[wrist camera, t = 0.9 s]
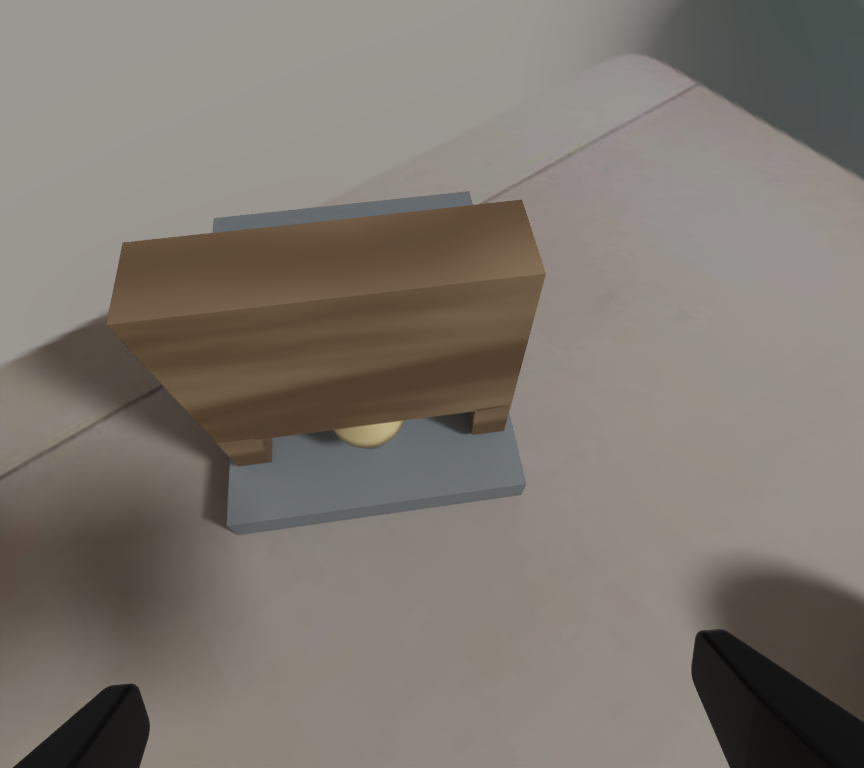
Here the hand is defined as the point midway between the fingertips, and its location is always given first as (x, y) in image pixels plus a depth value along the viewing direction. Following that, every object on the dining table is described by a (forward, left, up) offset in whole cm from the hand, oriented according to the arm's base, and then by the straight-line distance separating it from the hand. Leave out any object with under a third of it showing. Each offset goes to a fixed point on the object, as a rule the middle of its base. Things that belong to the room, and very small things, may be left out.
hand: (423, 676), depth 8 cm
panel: (+7, +8, -12) cm, 16 cm away
